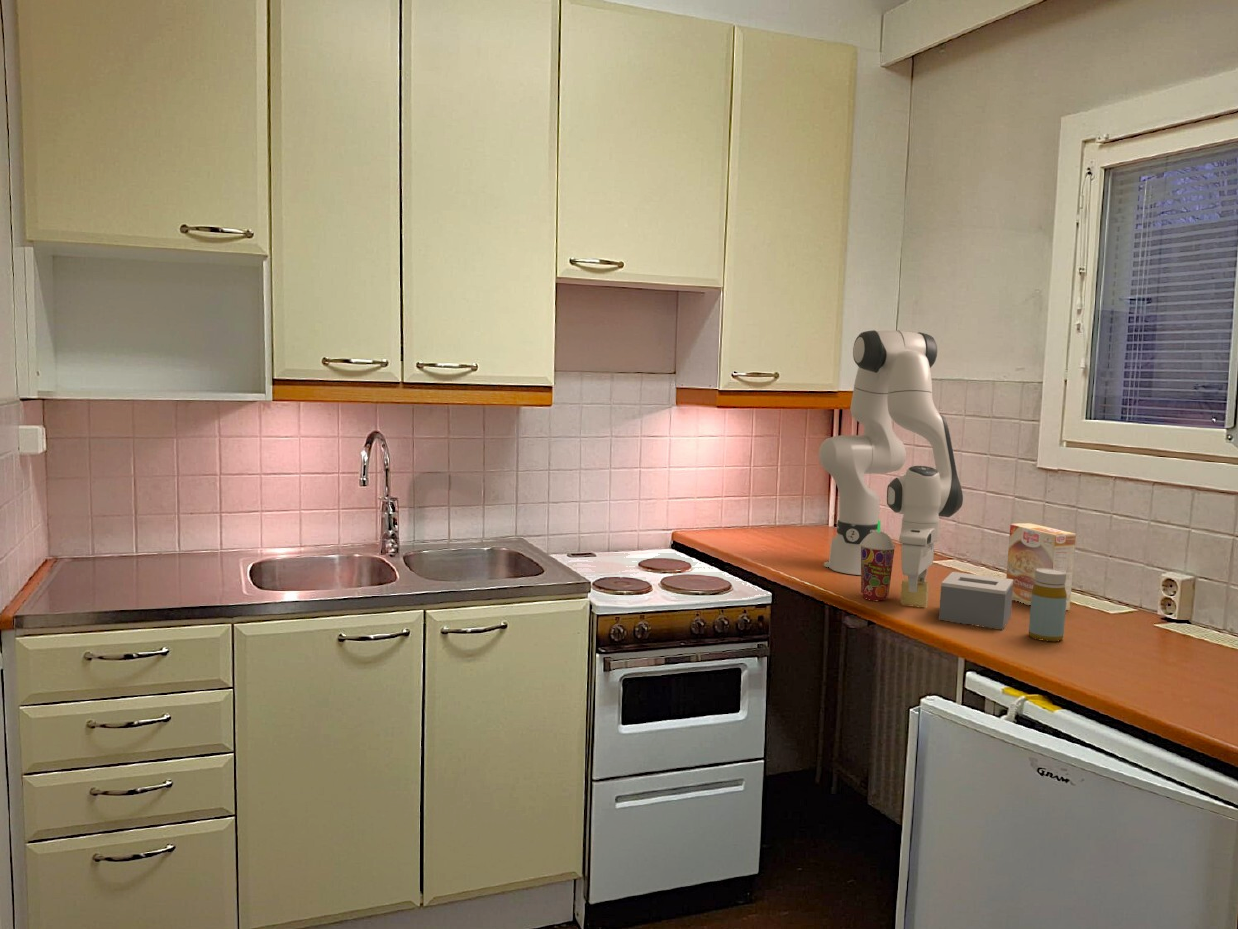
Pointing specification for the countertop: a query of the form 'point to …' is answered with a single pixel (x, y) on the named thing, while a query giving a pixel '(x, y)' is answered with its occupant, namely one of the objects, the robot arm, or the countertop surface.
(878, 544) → the smoothie
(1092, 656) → the countertop surface
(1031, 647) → the countertop surface
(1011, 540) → the coffeecake box
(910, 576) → the robot arm
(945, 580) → the coin box
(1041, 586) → the bottle
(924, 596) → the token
